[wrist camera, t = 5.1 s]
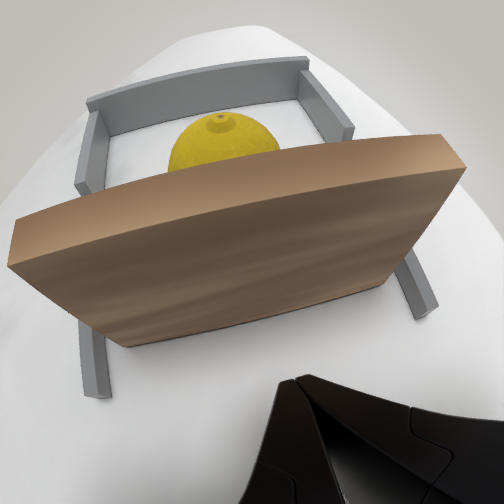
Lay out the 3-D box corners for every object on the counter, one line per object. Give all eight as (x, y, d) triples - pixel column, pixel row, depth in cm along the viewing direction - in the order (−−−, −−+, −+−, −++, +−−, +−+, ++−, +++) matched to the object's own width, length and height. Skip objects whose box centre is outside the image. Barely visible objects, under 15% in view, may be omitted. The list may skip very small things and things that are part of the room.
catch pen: (426, 315, 15) (464, 286, 12) (98, 398, 13) (55, 389, 10) (302, 93, 25) (305, 56, 22) (102, 134, 23) (87, 98, 20)
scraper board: (383, 283, 16) (466, 167, 8) (123, 347, 14) (7, 266, 6) (372, 258, 17) (440, 134, 9) (120, 318, 15) (15, 219, 7)
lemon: (269, 285, 16) (276, 178, 9) (172, 260, 17) (123, 156, 10) (290, 203, 19) (303, 90, 12) (205, 187, 20) (184, 79, 13)
